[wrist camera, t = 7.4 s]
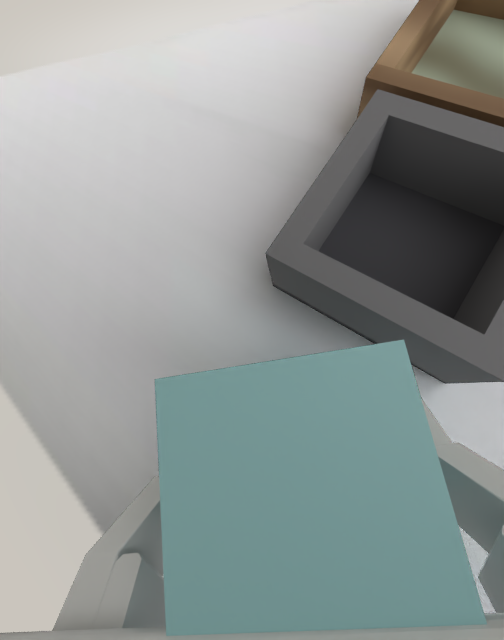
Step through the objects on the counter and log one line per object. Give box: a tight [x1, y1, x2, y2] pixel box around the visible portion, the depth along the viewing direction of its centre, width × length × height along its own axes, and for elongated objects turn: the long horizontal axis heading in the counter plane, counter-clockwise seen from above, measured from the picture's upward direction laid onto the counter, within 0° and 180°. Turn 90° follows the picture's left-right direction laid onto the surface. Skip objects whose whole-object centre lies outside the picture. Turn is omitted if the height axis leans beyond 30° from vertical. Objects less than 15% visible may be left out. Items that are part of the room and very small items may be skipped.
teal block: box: [155, 340, 487, 636], centre depth 9 cm, size 4×4×10 cm
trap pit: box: [265, 89, 504, 383], centre depth 13 cm, size 10×10×4 cm
